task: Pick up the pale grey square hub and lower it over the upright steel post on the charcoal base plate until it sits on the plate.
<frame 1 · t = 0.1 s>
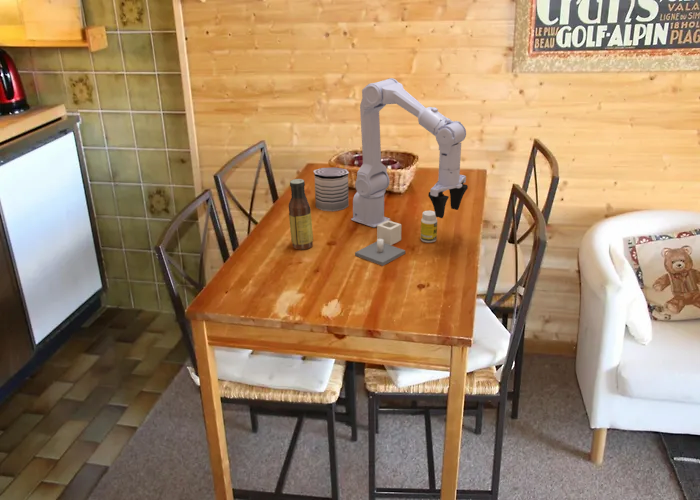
hand: (447, 213, 200), 10 cm above the table, tool pointing down, fingers open, 7 cm apart
can: (332, 205, 234), on the table
hub: (389, 240, 208), on the table
supplement bottle: (428, 240, 208), on the table
sauce bottle: (302, 246, 206), on the table
base plate: (380, 254, 199), on the table
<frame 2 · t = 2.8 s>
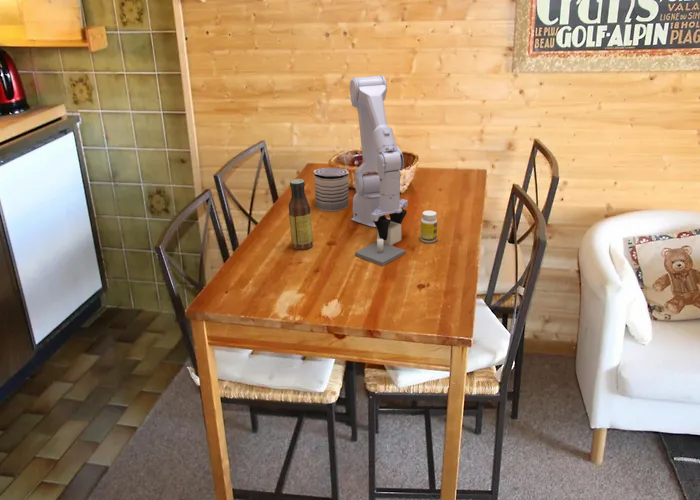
hand: (389, 236, 207), 1 cm above the table, tool pointing down, fingers closed on hub, 5 cm apart
hub: (389, 240, 208), on the table, touching gripper
everything else where it was.
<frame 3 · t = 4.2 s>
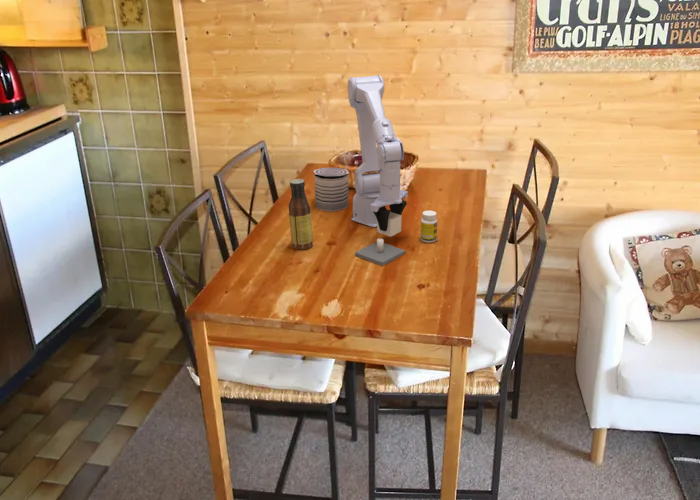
hand: (389, 227, 206), 4 cm above the table, tool pointing down, fingers closed on hub, 5 cm apart
hub: (389, 231, 207), point 3 cm above the table, touching gripper
everything else where it was.
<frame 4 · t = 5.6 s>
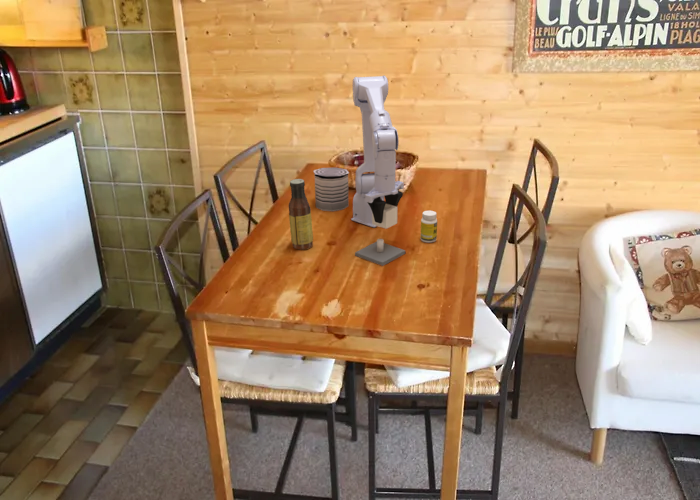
hand: (384, 219, 199), 9 cm above the table, tool pointing down, fingers closed on hub, 5 cm apart
hub: (384, 223, 200), point 8 cm above the table, touching gripper
everything else where it was.
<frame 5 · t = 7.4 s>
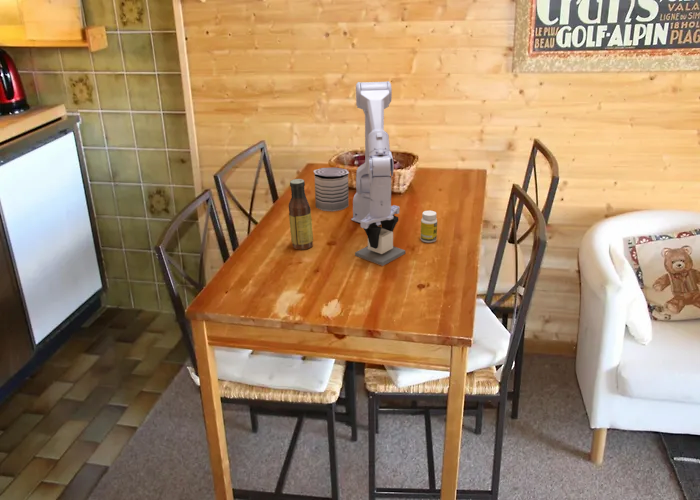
hand: (380, 244, 198), 3 cm above the table, tool pointing down, fingers closed on hub, 5 cm apart
hub: (380, 248, 199), point 2 cm above the table, touching gripper
everything else where it was.
when the fingers open (3 cm above the table, at t = 8.6 s): hub stays where it is, resting on base plate.
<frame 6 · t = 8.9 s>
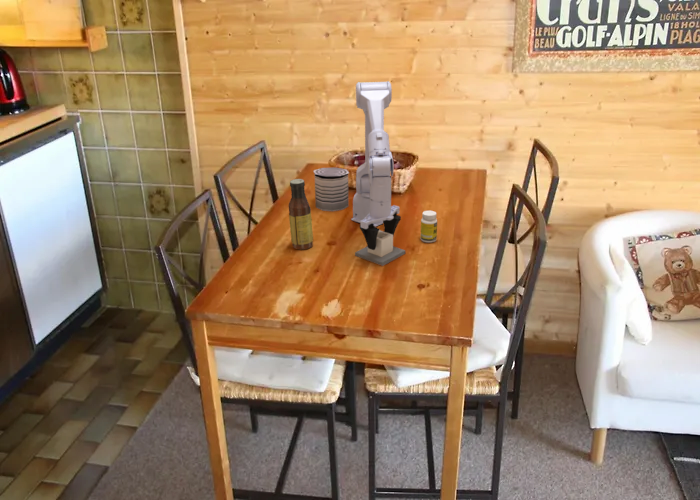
hand: (380, 244, 198), 3 cm above the table, tool pointing down, fingers open, 7 cm apart
hub: (380, 251, 199), point 1 cm above the table, touching base plate
everything else where it was.
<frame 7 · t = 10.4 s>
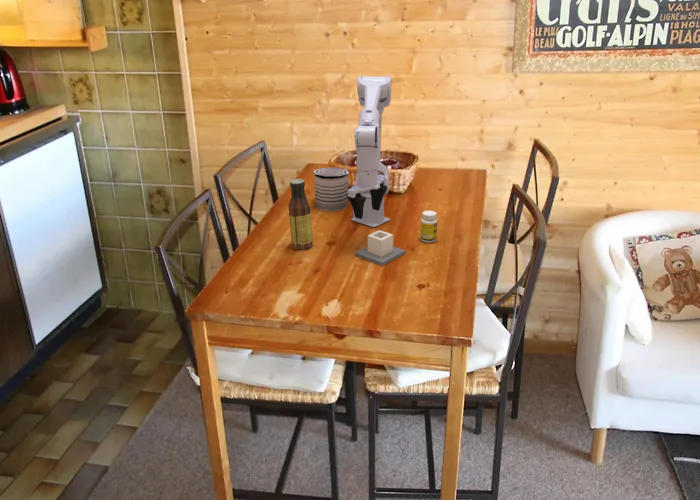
hand: (367, 213, 202), 9 cm above the table, tool pointing down, fingers open, 7 cm apart
nothing on the table moved.
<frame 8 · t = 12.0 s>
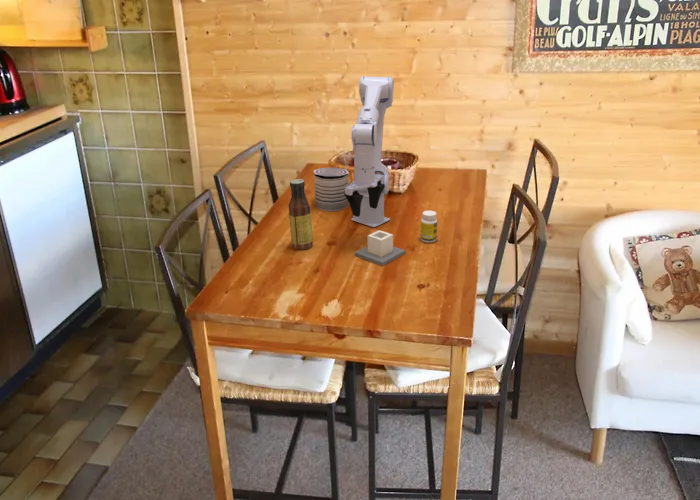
hand: (364, 211, 204), 9 cm above the table, tool pointing down, fingers open, 7 cm apart
nothing on the table moved.
at the end: hub 0.0 cm off-centre on the base plate, point 1.0 cm above the base plate's base; hub tilted 0°; the gripper is holding nothing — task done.
